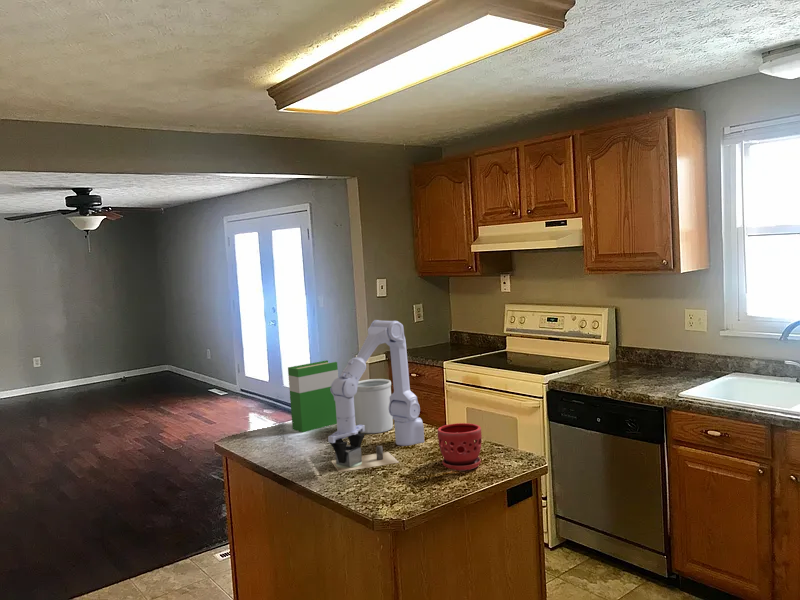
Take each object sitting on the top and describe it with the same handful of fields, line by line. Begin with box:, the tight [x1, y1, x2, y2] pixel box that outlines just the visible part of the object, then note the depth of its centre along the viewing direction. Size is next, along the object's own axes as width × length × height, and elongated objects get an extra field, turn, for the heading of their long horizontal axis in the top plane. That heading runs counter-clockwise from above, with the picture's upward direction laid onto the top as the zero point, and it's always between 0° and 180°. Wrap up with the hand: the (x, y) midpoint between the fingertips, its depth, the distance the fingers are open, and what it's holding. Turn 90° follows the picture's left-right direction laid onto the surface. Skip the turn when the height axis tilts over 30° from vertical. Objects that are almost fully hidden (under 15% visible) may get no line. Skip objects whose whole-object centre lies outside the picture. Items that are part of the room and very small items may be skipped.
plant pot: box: [437, 422, 483, 472], centre depth 200 cm, size 13×13×12 cm
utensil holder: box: [354, 378, 394, 434], centre depth 248 cm, size 15×15×18 cm
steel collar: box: [335, 444, 363, 467], centre depth 206 cm, size 6×6×4 cm
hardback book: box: [287, 359, 339, 433], centre depth 257 cm, size 18×7×24 cm, turn 129°
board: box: [330, 445, 400, 473], centre depth 207 cm, size 19×12×6 cm, turn 108°
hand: (348, 459), depth 206 cm, fingers closed on steel collar, 6 cm apart
